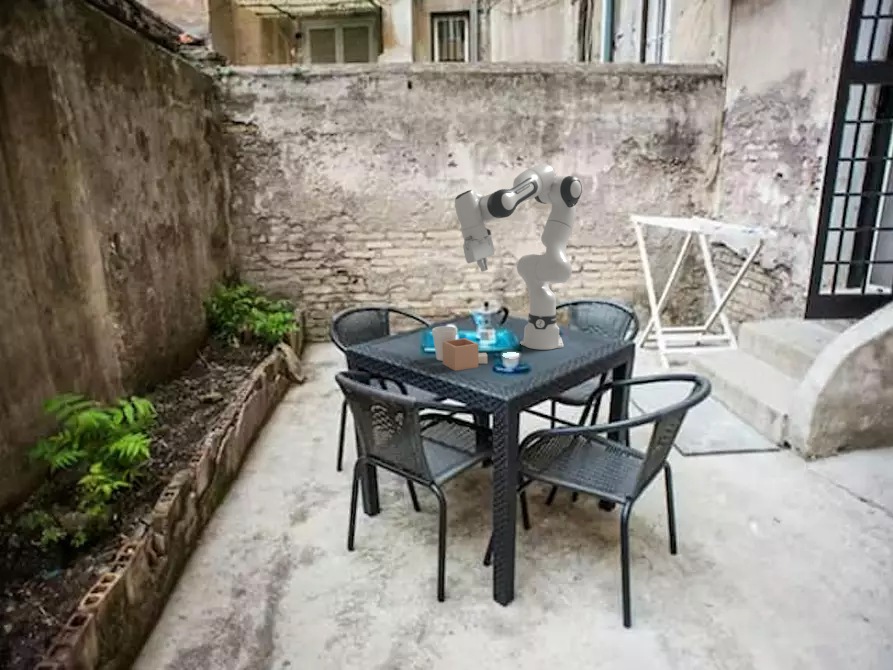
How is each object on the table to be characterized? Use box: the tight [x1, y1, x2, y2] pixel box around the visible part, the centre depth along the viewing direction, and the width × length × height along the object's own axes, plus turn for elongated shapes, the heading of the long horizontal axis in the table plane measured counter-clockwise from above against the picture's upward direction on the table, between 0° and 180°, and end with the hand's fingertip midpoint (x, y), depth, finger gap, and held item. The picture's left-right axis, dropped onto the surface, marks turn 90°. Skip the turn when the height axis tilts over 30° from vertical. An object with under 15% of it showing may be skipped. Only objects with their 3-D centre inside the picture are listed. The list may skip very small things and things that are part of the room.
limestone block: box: [478, 352, 488, 365], centre depth 232 cm, size 5×5×4 cm
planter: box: [442, 337, 479, 372], centre depth 227 cm, size 10×10×10 cm
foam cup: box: [432, 325, 458, 362], centre depth 236 cm, size 10×9×13 cm
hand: (484, 270), depth 224 cm, fingers closed
